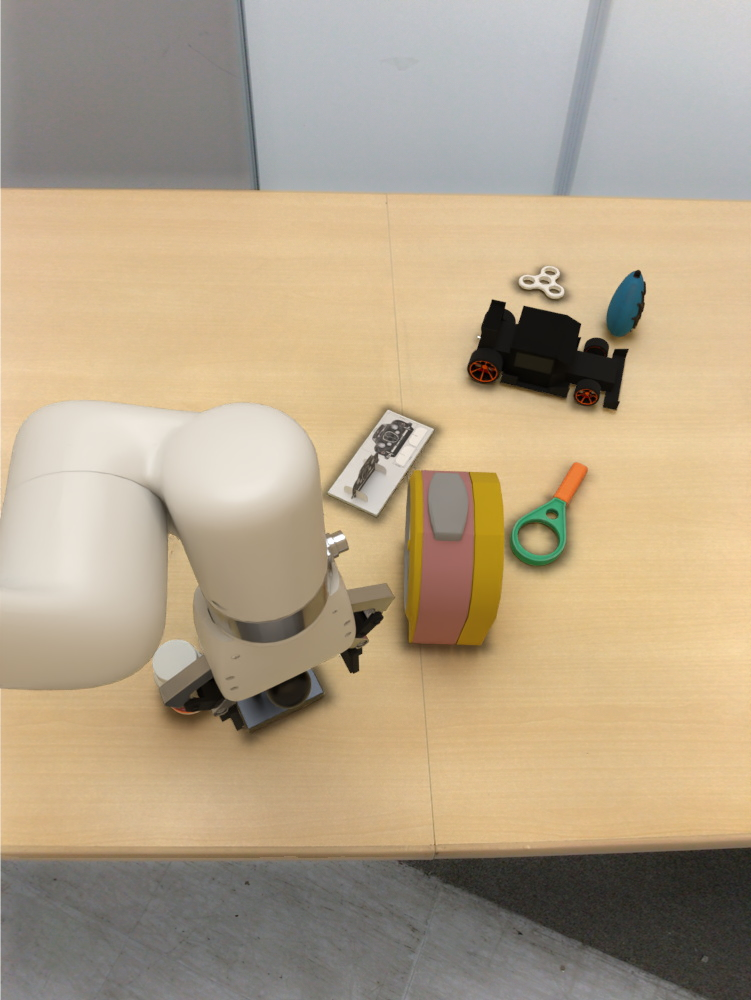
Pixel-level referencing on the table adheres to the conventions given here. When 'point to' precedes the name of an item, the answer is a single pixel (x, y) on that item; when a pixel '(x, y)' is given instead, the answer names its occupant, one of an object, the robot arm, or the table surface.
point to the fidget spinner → (544, 287)
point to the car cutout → (381, 463)
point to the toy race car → (545, 356)
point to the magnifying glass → (539, 515)
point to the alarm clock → (453, 556)
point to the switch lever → (291, 691)
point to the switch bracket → (273, 706)
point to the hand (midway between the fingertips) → (291, 684)
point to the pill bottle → (173, 662)
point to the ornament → (626, 305)
